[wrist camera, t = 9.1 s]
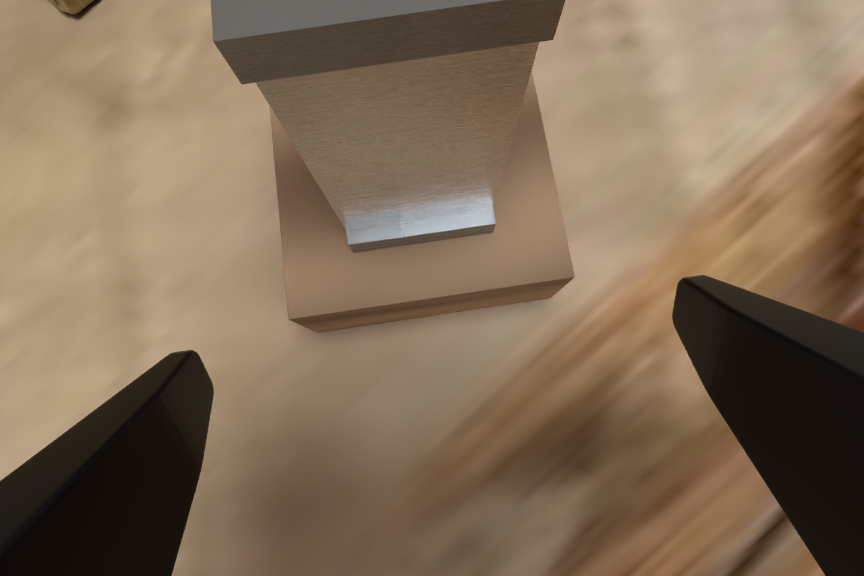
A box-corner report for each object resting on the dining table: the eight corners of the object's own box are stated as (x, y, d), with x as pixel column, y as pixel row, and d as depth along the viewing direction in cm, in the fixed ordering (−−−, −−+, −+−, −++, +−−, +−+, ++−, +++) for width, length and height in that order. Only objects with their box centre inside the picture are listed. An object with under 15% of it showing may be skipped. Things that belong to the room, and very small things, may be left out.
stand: (550, 298, 21) (574, 277, 17) (317, 332, 21) (288, 319, 17) (509, 88, 23) (522, 27, 19) (296, 119, 23) (266, 64, 19)
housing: (493, 232, 18) (568, -10, 7) (353, 252, 18) (213, 41, 7) (466, 82, 19) (496, -320, 8) (335, 101, 19) (193, -279, 8)
